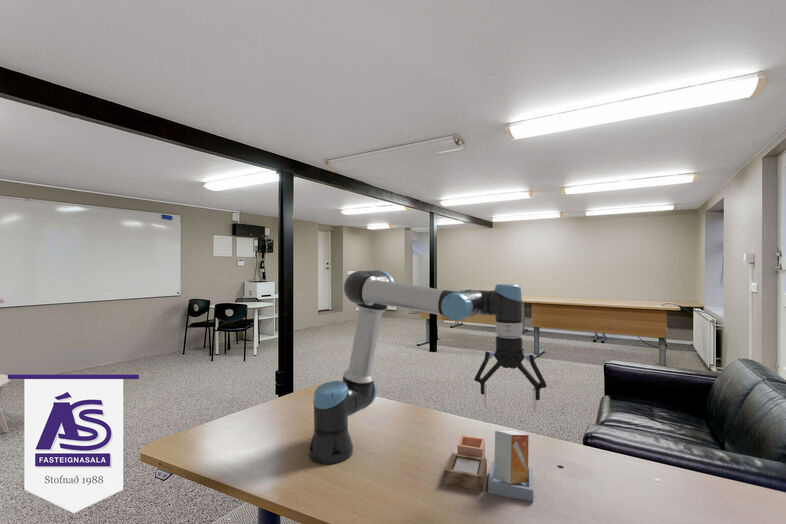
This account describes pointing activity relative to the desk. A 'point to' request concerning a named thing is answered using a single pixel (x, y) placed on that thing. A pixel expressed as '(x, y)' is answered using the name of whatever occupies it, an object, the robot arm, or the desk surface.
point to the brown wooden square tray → (466, 473)
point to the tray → (511, 487)
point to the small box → (511, 457)
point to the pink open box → (471, 446)
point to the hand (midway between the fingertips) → (509, 408)
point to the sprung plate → (467, 466)
